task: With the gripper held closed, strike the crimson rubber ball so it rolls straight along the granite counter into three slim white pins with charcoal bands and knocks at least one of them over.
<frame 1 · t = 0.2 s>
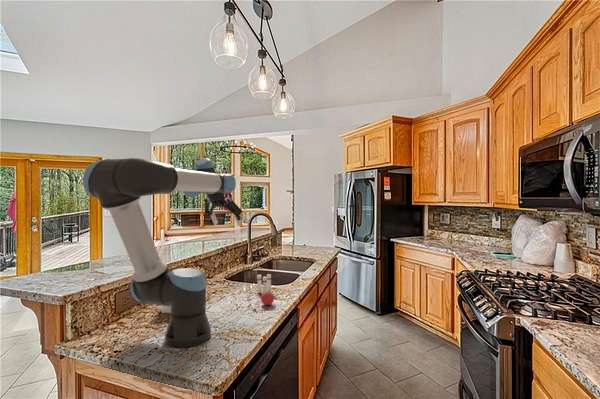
hand: (228, 224, 157), 36 cm above the worktop, tool tilted 35°, fingers open, 13 cm apart
ball: (267, 298, 141), on the worktop
front pin: (264, 294, 156), on the worktop
right back pin: (269, 291, 161), on the worktop
jar: (171, 310, 135), on the worktop
left back pin: (259, 292, 160), on the worktop
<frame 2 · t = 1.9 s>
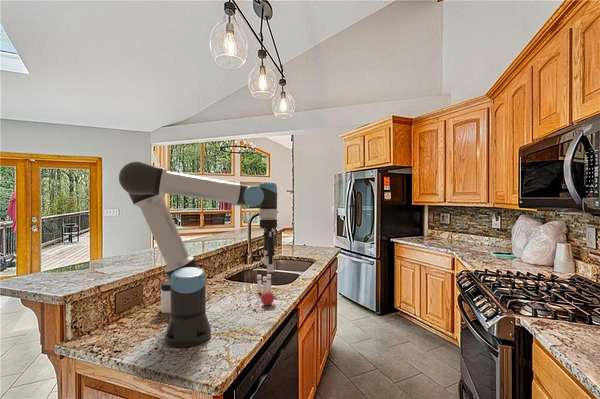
hand: (268, 268, 132), 19 cm above the worktop, tool pointing down, fingers open, 13 cm apart
nothing on the worktop moved.
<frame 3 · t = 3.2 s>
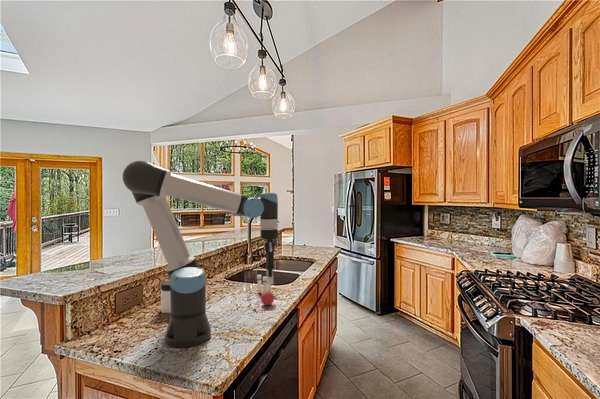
hand: (270, 283, 132), 12 cm above the worktop, tool pointing down, fingers closed
nothing on the worktop moved.
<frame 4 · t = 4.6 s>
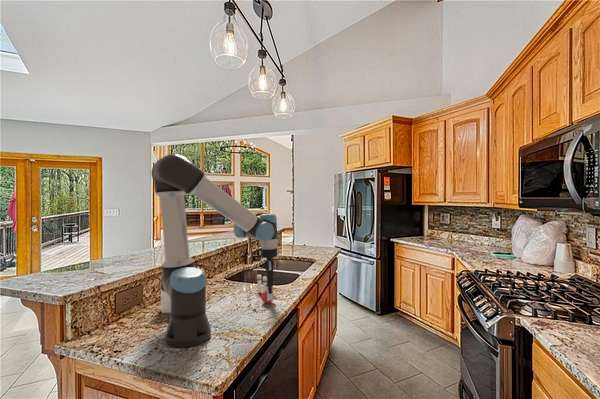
hand: (270, 299, 140), 3 cm above the worktop, tool pointing down, fingers closed
ball: (267, 296, 144), on the worktop, touching gripper
everything else where it was.
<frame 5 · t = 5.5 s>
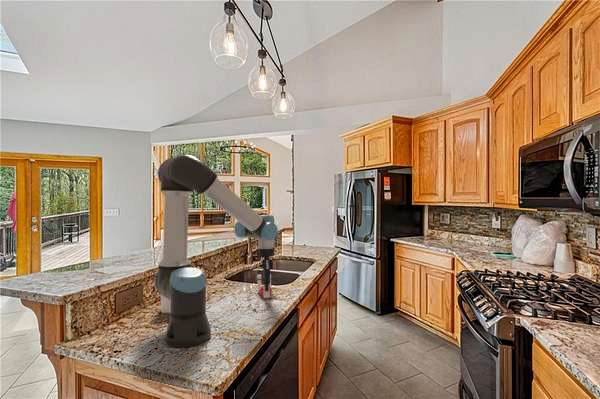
hand: (266, 297, 146), 2 cm above the worktop, tool pointing down, fingers closed
ball: (265, 290, 152), on the worktop
front pin: (264, 292, 157), point 1 cm above the worktop, tilted 90°
everything else where it was.
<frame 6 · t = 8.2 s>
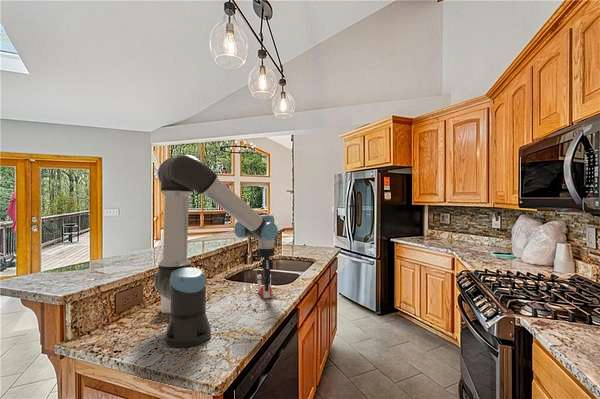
hand: (266, 297, 146), 2 cm above the worktop, tool pointing down, fingers closed
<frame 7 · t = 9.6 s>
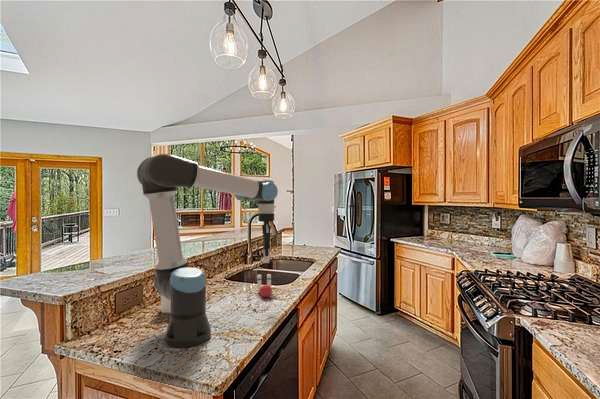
hand: (266, 262, 146), 18 cm above the worktop, tool pointing down, fingers closed
nothing on the worktop moved.
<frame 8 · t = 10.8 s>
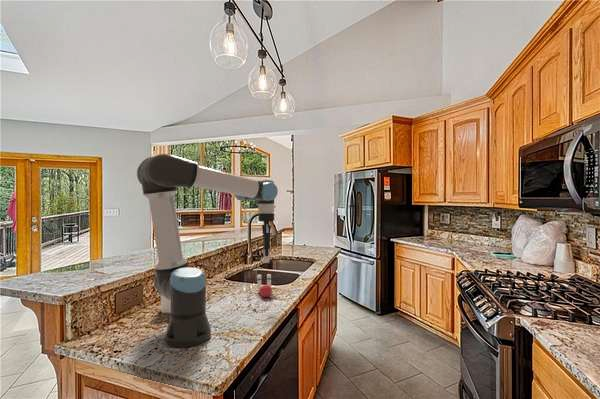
hand: (266, 262, 146), 18 cm above the worktop, tool pointing down, fingers closed
nothing on the worktop moved.
at the end: 1 of 3 knocked over (down: front pin; still standing: left back pin, right back pin); front pin never touched the robot; ball moved 11.5 cm from its start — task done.
